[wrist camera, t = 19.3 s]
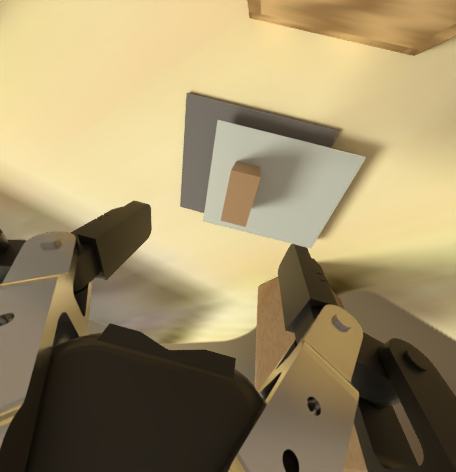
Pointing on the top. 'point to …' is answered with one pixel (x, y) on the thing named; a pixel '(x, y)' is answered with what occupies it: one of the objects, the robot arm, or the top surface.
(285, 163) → the lid
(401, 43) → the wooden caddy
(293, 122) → the mat
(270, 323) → the wooden block
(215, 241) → the top surface
